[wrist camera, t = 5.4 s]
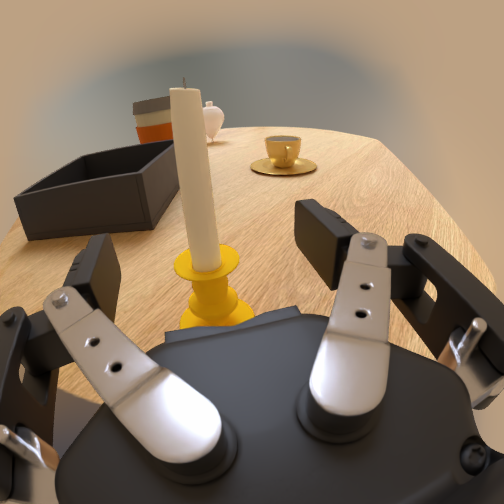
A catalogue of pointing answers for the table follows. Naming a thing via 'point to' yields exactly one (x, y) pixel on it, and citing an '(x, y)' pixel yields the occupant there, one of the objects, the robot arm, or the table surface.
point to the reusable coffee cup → (153, 119)
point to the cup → (283, 157)
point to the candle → (201, 222)
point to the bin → (102, 193)
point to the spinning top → (212, 119)
